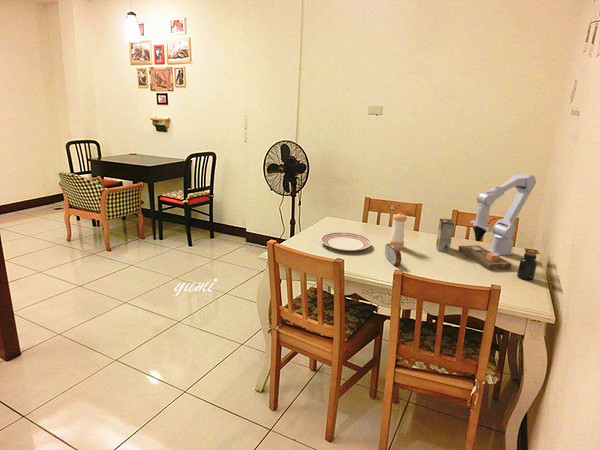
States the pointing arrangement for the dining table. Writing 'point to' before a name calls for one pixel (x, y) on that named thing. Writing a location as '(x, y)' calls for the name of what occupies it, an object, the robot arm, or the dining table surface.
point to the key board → (484, 258)
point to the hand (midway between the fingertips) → (477, 240)
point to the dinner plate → (346, 241)
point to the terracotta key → (492, 256)
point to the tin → (393, 254)
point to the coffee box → (444, 235)
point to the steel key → (476, 249)
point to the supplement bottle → (527, 267)
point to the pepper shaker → (398, 230)
